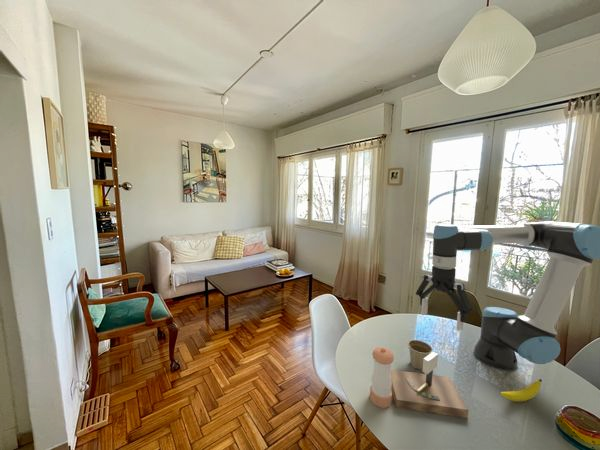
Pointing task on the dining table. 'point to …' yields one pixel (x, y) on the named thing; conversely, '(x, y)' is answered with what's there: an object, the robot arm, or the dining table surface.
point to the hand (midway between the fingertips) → (440, 321)
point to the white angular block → (429, 368)
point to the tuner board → (427, 394)
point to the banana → (523, 392)
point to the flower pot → (418, 352)
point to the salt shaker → (381, 378)
